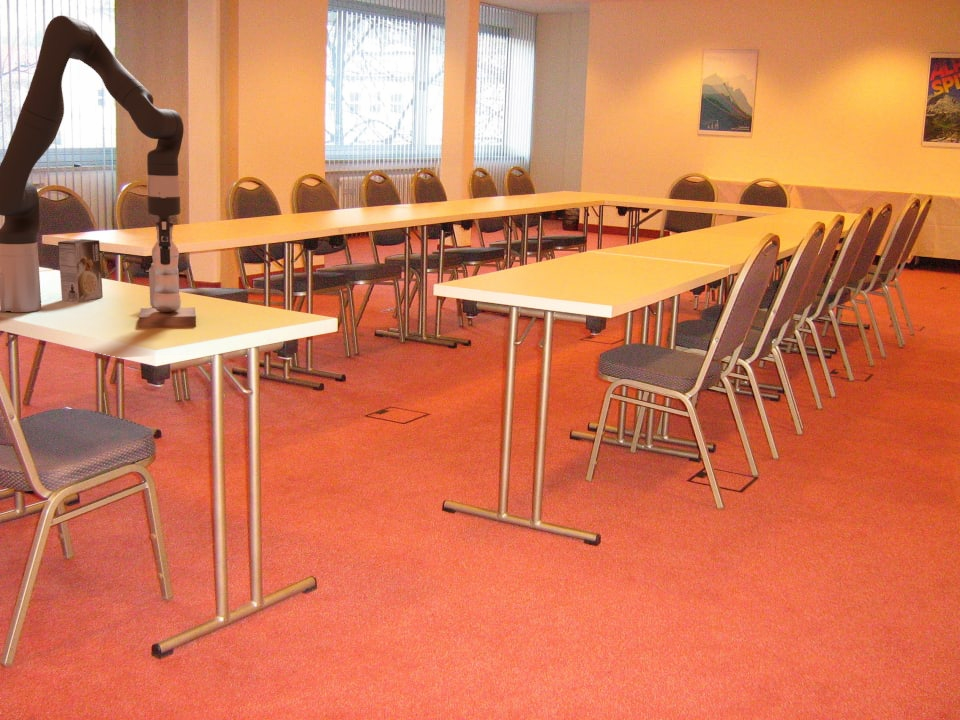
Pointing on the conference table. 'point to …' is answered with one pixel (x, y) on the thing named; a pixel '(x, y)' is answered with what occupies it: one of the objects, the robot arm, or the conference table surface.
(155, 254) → the plastic bottle
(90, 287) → the coffee box
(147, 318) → the walnut block
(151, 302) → the can
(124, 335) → the conference table surface
